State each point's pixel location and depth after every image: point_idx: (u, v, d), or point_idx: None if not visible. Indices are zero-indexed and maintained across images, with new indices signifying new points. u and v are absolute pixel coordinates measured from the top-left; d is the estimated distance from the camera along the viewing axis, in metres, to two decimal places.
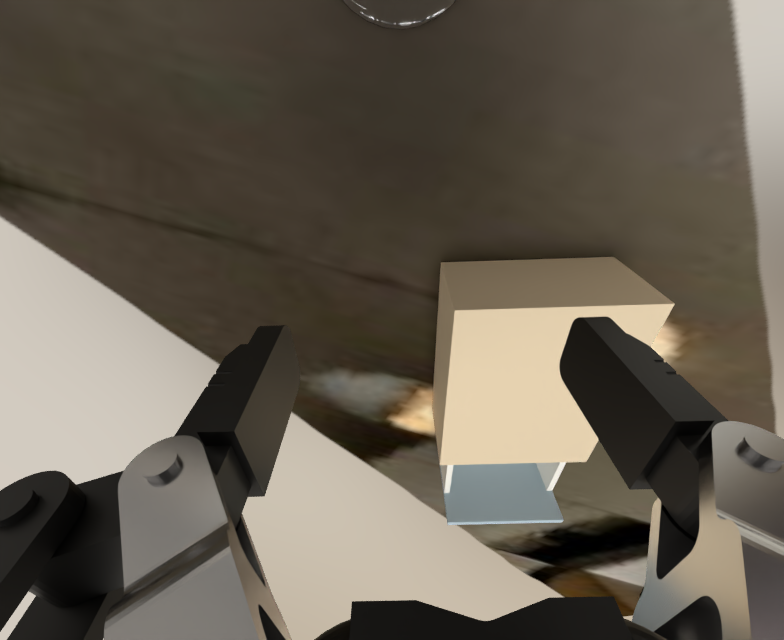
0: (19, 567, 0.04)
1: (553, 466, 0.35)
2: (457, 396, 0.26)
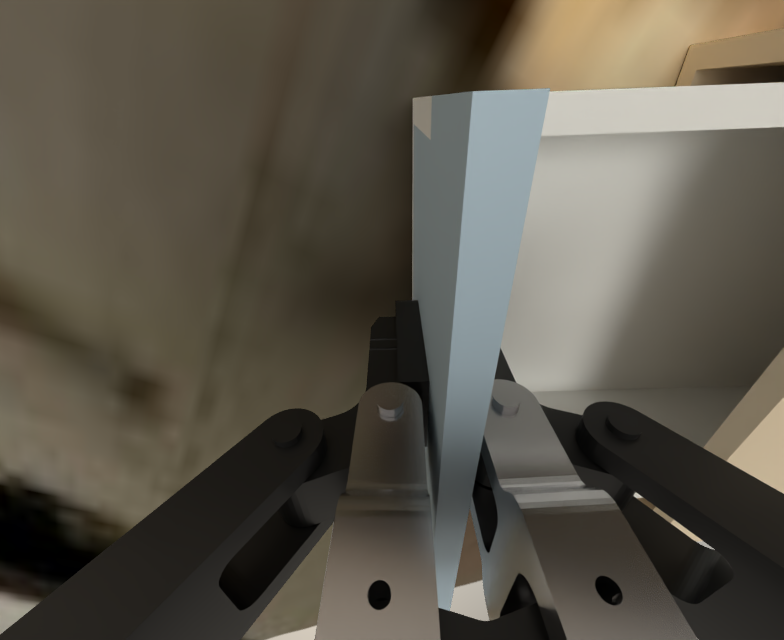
0: (278, 492, 0.05)
1: None
2: None
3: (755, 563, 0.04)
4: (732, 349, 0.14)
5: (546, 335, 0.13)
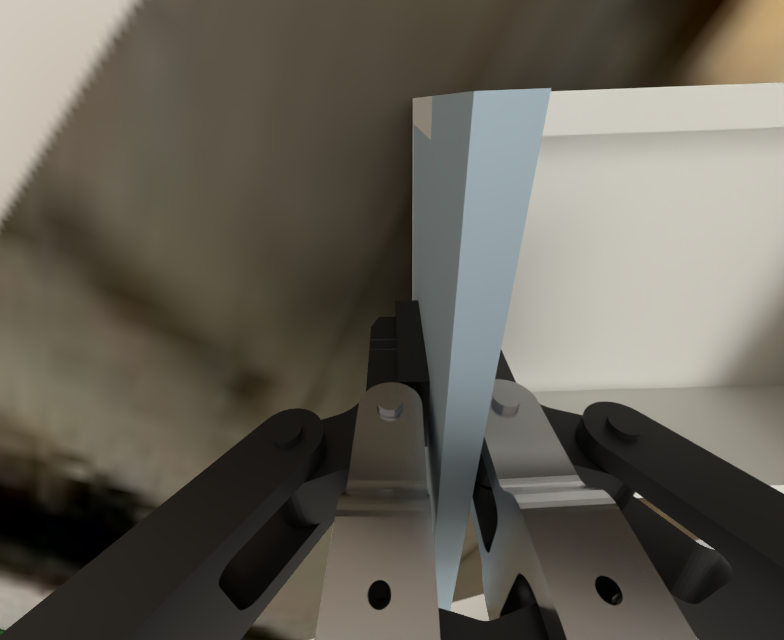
0: (277, 492, 0.05)
1: None
2: None
3: (755, 563, 0.04)
4: (732, 349, 0.14)
5: (546, 335, 0.13)
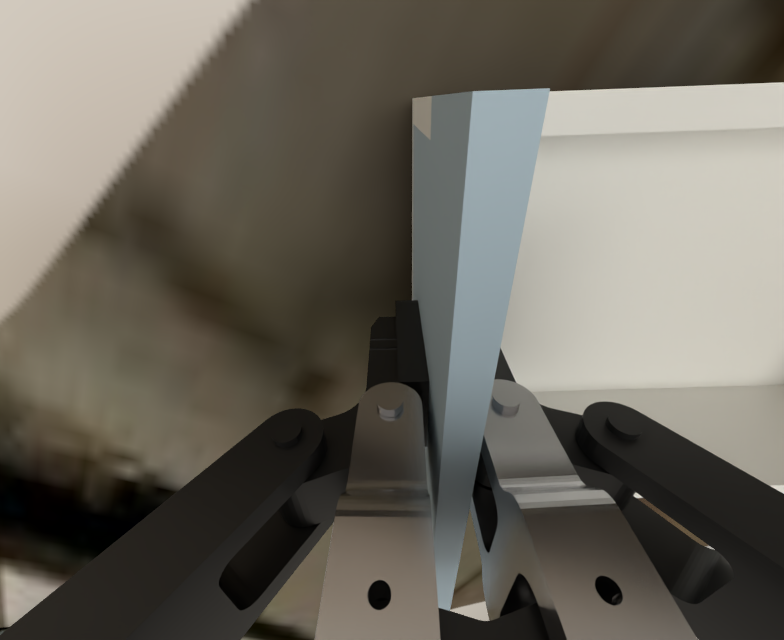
0: (278, 492, 0.05)
1: None
2: None
3: (755, 563, 0.04)
4: (732, 349, 0.14)
5: (546, 335, 0.13)
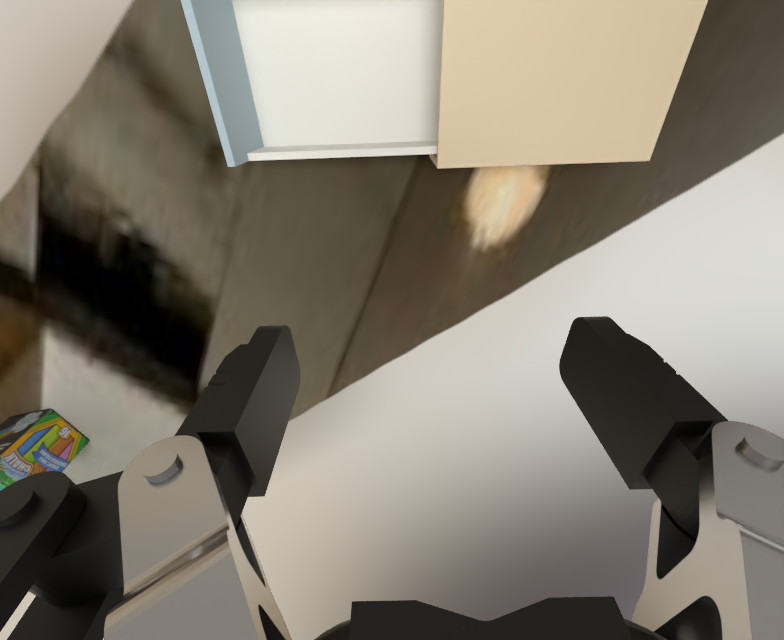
0: (20, 567, 0.04)
1: (294, 150, 0.29)
2: None
3: None
4: (394, 115, 0.31)
5: (307, 105, 0.30)
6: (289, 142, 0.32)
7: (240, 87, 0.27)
